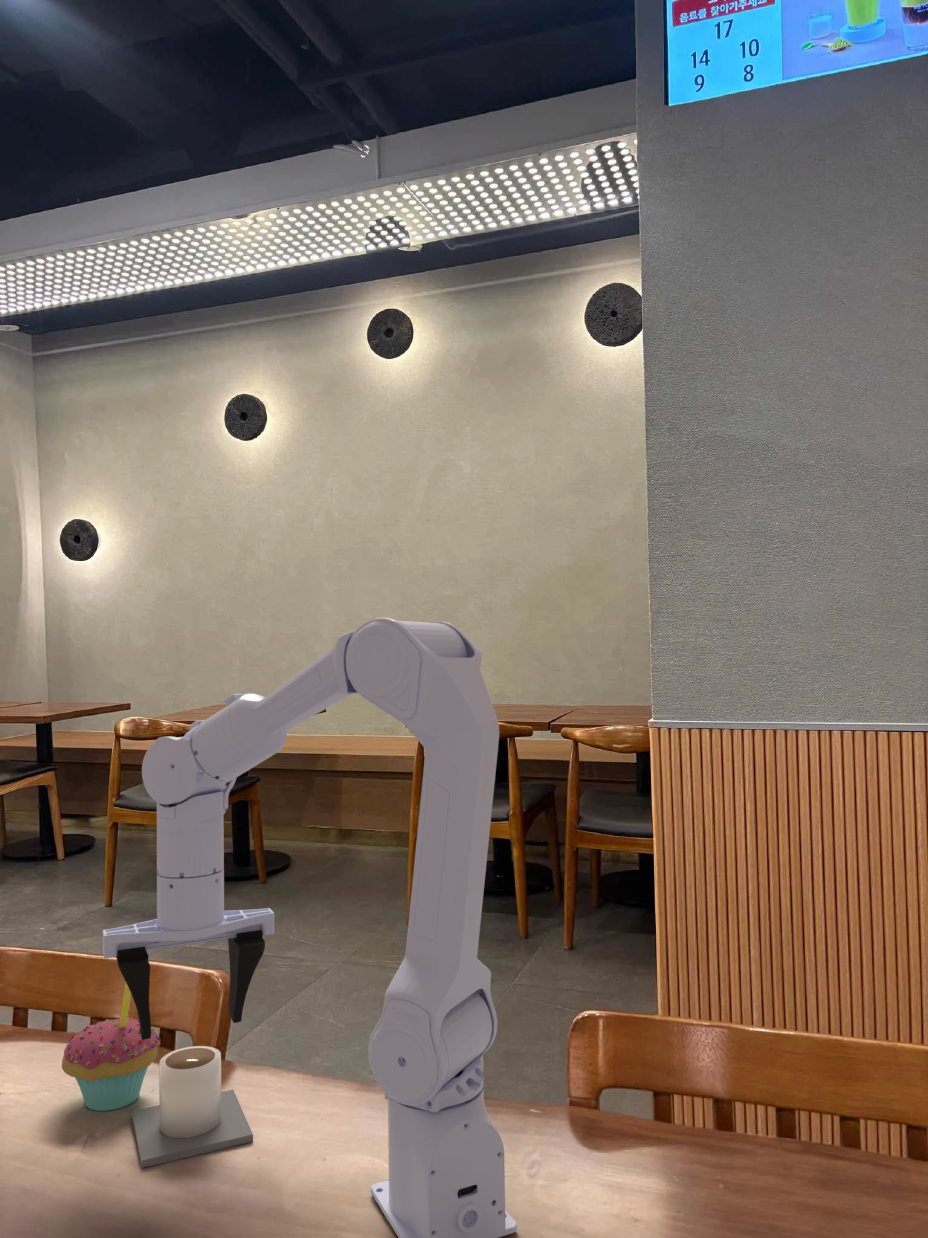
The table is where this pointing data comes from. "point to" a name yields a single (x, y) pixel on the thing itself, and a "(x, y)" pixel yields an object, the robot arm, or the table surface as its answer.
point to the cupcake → (110, 1060)
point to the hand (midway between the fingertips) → (191, 1027)
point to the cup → (189, 1091)
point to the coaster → (166, 1149)
